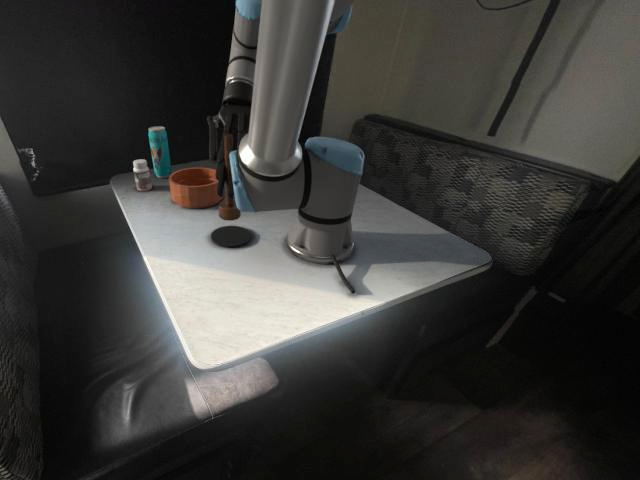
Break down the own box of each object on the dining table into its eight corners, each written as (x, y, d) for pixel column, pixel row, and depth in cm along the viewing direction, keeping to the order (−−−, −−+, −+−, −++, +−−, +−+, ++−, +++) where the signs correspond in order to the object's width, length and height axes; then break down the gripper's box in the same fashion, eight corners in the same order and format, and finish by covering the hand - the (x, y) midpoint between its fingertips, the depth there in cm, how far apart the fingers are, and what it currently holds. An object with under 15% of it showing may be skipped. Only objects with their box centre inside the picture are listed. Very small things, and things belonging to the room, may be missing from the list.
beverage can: (152, 177, 113) (144, 129, 104) (160, 172, 118) (152, 125, 108) (167, 179, 112) (160, 131, 102) (174, 173, 116) (168, 126, 107)
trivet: (251, 248, 79) (251, 246, 78) (209, 247, 79) (209, 245, 78) (251, 227, 86) (251, 225, 86) (212, 227, 86) (212, 225, 86)
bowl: (222, 209, 94) (221, 187, 90) (167, 209, 95) (164, 186, 91) (225, 188, 106) (224, 167, 102) (176, 188, 107) (173, 167, 102)
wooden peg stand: (240, 220, 78) (241, 139, 66) (218, 220, 78) (215, 138, 66) (240, 210, 82) (241, 131, 70) (219, 210, 82) (216, 131, 70)
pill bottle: (136, 186, 108) (130, 159, 102) (150, 184, 109) (146, 157, 103) (138, 191, 104) (132, 164, 99) (153, 189, 106) (148, 162, 100)
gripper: (275, 104, 76) (260, 204, 75) (213, 100, 78) (197, 198, 77) (274, 80, 69) (257, 191, 68) (205, 77, 71) (187, 185, 70)
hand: (225, 194), depth 73 cm, fingers closed on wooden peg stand, 2 cm apart
